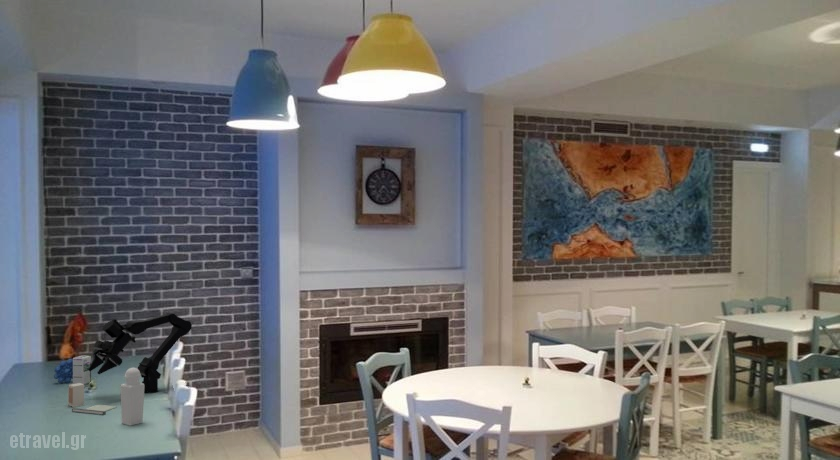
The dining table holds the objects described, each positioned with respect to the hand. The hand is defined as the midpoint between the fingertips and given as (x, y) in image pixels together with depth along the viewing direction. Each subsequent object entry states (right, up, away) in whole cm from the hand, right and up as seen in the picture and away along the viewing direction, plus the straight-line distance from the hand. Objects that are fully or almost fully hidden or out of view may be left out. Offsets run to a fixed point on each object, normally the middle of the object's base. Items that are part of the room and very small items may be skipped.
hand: (93, 372), depth 288 cm
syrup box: (-20, -13, +28) cm, 37 cm away
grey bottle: (+30, -14, -30) cm, 45 cm away
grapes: (-31, -13, +35) cm, 49 cm away
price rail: (+6, -13, -17) cm, 22 cm away
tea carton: (-5, -13, -5) cm, 15 cm away
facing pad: (+8, -13, -12) cm, 19 cm away
